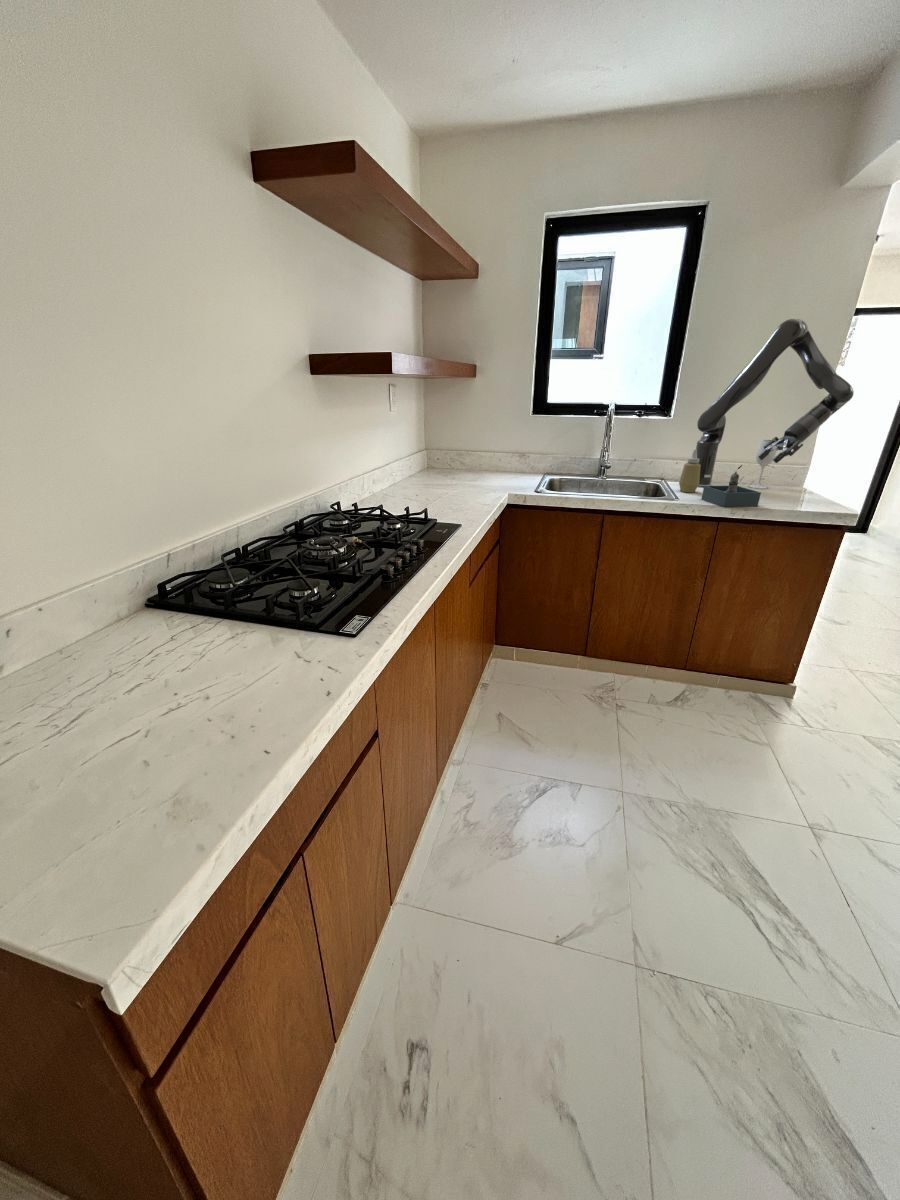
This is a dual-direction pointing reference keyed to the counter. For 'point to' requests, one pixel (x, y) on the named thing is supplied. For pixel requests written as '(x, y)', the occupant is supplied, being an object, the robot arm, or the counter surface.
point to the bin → (731, 496)
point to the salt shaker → (733, 483)
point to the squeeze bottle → (690, 474)
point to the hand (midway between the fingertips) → (767, 459)
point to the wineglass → (763, 461)
